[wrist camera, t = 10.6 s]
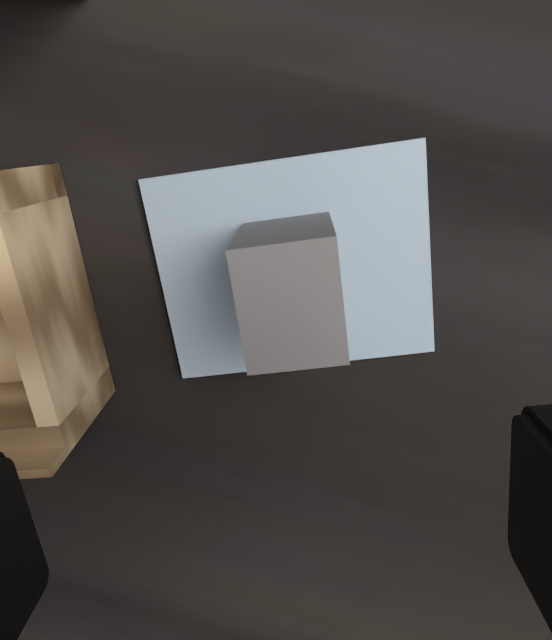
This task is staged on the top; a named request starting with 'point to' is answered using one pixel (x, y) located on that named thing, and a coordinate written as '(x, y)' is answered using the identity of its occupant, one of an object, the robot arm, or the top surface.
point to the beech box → (45, 326)
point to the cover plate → (285, 189)
